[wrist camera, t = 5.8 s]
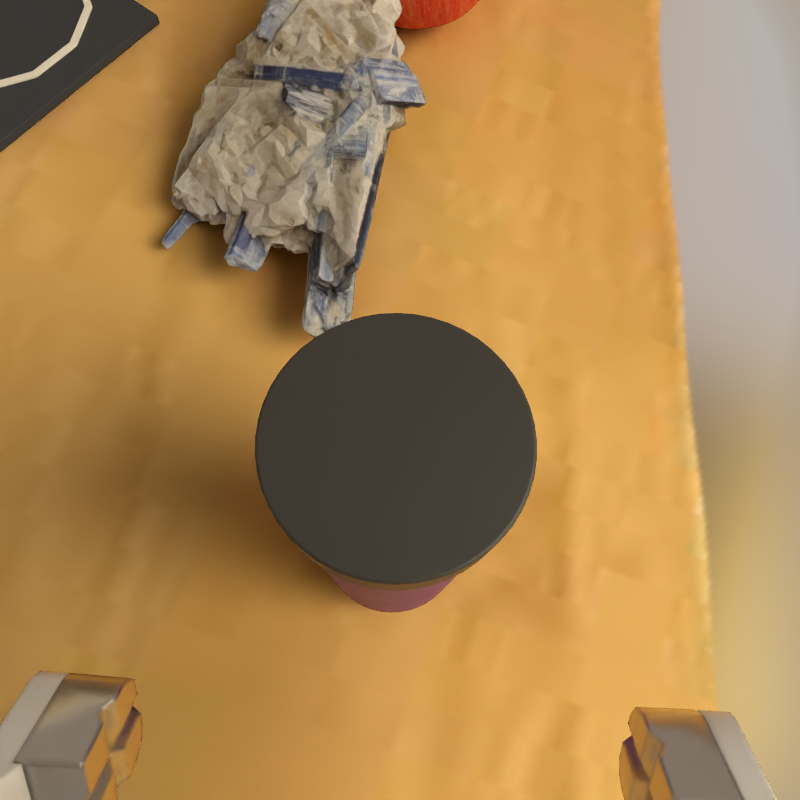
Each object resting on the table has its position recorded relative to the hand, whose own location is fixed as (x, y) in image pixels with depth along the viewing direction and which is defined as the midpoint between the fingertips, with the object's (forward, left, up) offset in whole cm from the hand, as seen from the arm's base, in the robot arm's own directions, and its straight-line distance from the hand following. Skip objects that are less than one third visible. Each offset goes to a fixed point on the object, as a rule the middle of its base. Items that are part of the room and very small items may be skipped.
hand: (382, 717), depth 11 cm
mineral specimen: (+13, +14, -10) cm, 22 cm away
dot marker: (+3, +2, -10) cm, 11 cm away
